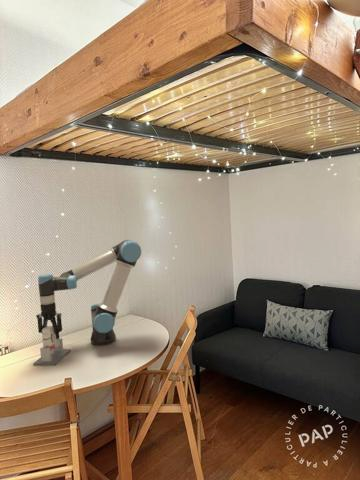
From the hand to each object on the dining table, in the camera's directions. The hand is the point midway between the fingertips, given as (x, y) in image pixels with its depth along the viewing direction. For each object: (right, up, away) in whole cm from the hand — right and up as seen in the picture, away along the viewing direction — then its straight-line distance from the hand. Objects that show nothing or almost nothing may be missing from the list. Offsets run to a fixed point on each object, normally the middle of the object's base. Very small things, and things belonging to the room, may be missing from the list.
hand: (51, 344), depth 180 cm
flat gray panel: (+1, -7, 0) cm, 7 cm away
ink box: (0, -2, 0) cm, 2 cm away
